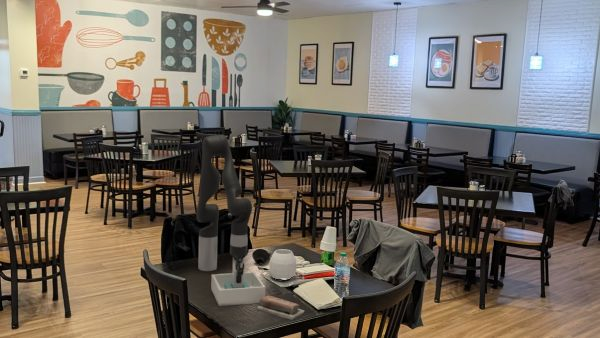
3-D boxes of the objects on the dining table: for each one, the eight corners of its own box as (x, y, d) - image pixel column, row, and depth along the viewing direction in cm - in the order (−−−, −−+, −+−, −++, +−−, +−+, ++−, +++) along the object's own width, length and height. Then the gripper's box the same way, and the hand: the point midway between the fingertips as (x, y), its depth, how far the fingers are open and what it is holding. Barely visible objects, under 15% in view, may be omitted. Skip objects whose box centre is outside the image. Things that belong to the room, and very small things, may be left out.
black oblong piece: (248, 257, 284) (252, 238, 300) (256, 274, 289) (259, 253, 305) (265, 253, 282) (267, 233, 298) (273, 269, 287) (275, 249, 303)
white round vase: (264, 279, 266) (265, 253, 264) (275, 272, 278) (276, 246, 276) (289, 284, 261) (290, 257, 259) (299, 276, 273) (301, 250, 272)
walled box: (211, 289, 250) (211, 274, 249) (253, 286, 257) (254, 271, 256) (219, 306, 232) (219, 290, 231) (264, 302, 238) (265, 287, 237)
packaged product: (256, 299, 230) (269, 292, 238) (255, 310, 231) (269, 303, 239) (292, 309, 221) (305, 302, 229) (292, 321, 222) (304, 313, 230)
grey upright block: (232, 286, 245) (232, 260, 243) (240, 286, 246) (241, 260, 244) (233, 289, 241) (234, 263, 239) (242, 289, 242) (243, 263, 241)
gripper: (227, 239, 246) (226, 276, 249) (233, 248, 233) (232, 287, 235) (243, 238, 249) (242, 275, 251) (251, 247, 235) (249, 286, 238)
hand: (237, 280), depth 243 cm, fingers closed on grey upright block, 4 cm apart
